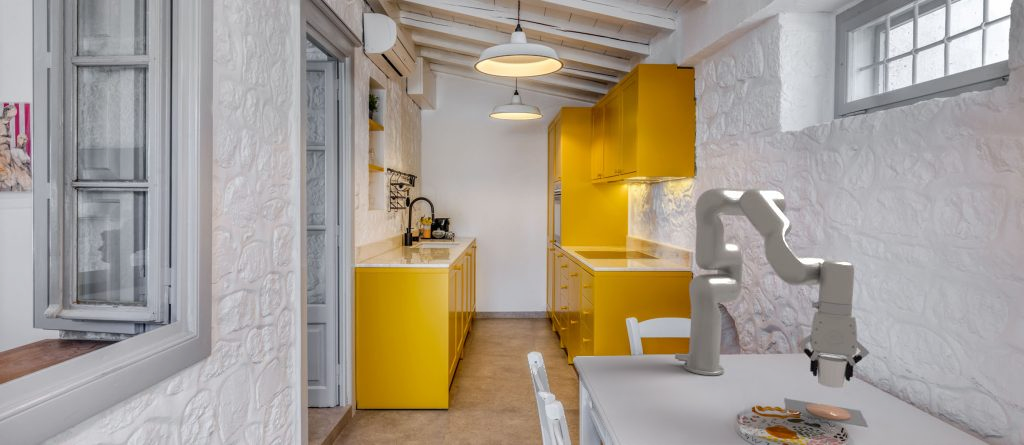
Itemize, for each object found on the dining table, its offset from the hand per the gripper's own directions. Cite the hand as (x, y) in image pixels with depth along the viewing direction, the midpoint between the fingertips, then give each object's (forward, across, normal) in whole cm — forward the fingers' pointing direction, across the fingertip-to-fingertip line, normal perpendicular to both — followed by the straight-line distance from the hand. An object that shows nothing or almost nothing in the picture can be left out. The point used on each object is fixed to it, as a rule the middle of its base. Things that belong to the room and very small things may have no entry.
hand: (830, 376), depth 143 cm
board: (+11, -1, 0) cm, 11 cm away
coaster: (+10, 0, 0) cm, 10 cm away
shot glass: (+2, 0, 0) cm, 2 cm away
